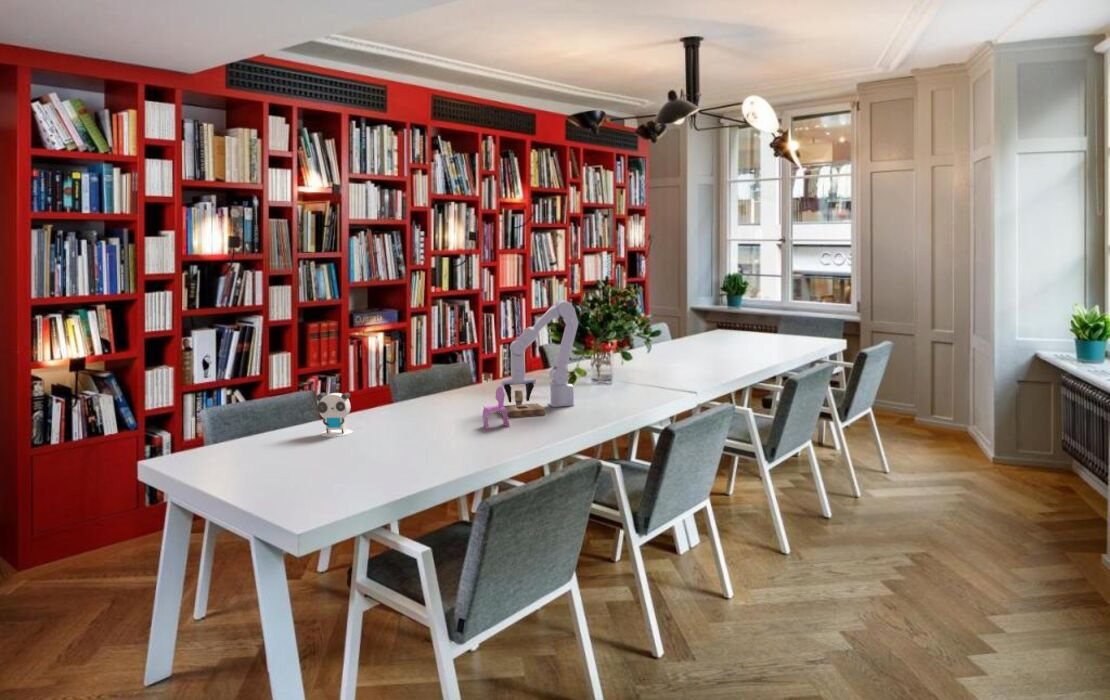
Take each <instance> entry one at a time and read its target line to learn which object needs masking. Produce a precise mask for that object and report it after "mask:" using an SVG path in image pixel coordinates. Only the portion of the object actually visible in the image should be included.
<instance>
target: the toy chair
mask: <svg viewBox="0 0 1110 700" xmlns="http://www.w3.org/2000/svg"><path fill="white" fill-rule="evenodd" d="M505 393H506V391H505V389H504V387H503V386H502V385H501V386H497V388H496V390H495V397H494V398H495V399H496V401H497V403H498V404H497V405H489V406H487V405H486V406H483V409H482V420H483V421H482V422H483V427H485V428H486V427H487V428H486V429H488V428H489V429H488V430H491V427H490V425H489V415H490V414H491V413H494V412H499V411H501V412H502V414H501V415H502V422H503V425H505V424H506V425H505V426H507V425H508V426H510V427H511V425H510V422H509V420H508V419H509V418H507V411H506V408H505V407H503V406H504V402H505V395H506V394H505ZM508 426H507V427H508Z"/></svg>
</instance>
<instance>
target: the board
mask: <svg viewBox="0 0 1110 700" xmlns="http://www.w3.org/2000/svg"><path fill="white" fill-rule="evenodd" d="M503 407H505V408H506V411H507V417H513V418H519V417H518V416H526V417H534V416H533V415H539V416H546V408H545V407H543V406H542V405H541V404H539V403H524V404H523V403H522V404H521V405H516V404H511V405H503ZM498 412H499V413H500V412H501V411H498ZM501 413H502V412H501ZM501 413H500V414H501Z"/></svg>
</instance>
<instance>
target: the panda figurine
mask: <svg viewBox="0 0 1110 700" xmlns="http://www.w3.org/2000/svg"><path fill="white" fill-rule="evenodd" d="M349 398H351V393H350V392H345V393H341V392H332V393H328V394H327V393H326V392H321V393H318V394H317V395H316V400H317V401H318V404H317V412H318V413H319V415H320V416H321V417H322V418H323V420H322V423H323V424H324V425H325V430H324V431H322V432H321V433H320V436H321V435H322V436H321V437H324V436H327V437H326V438H337V437H336V436H341V437H346V436H349V435H348V434H350V435H352V434H353V433H352V432H353V430H352V429H348V419H347V417H348V415H349V414H350V411H351V408H352V407H351V402H350V399H349ZM351 433H352V434H351ZM345 435H346V436H345Z"/></svg>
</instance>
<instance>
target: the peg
mask: <svg viewBox="0 0 1110 700" xmlns="http://www.w3.org/2000/svg"><path fill="white" fill-rule="evenodd" d="M523 396H524V394H523V390H522V389H516V390H514V402H515V405H521V404H523V401H524V399H523V398H524V397H523Z"/></svg>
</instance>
